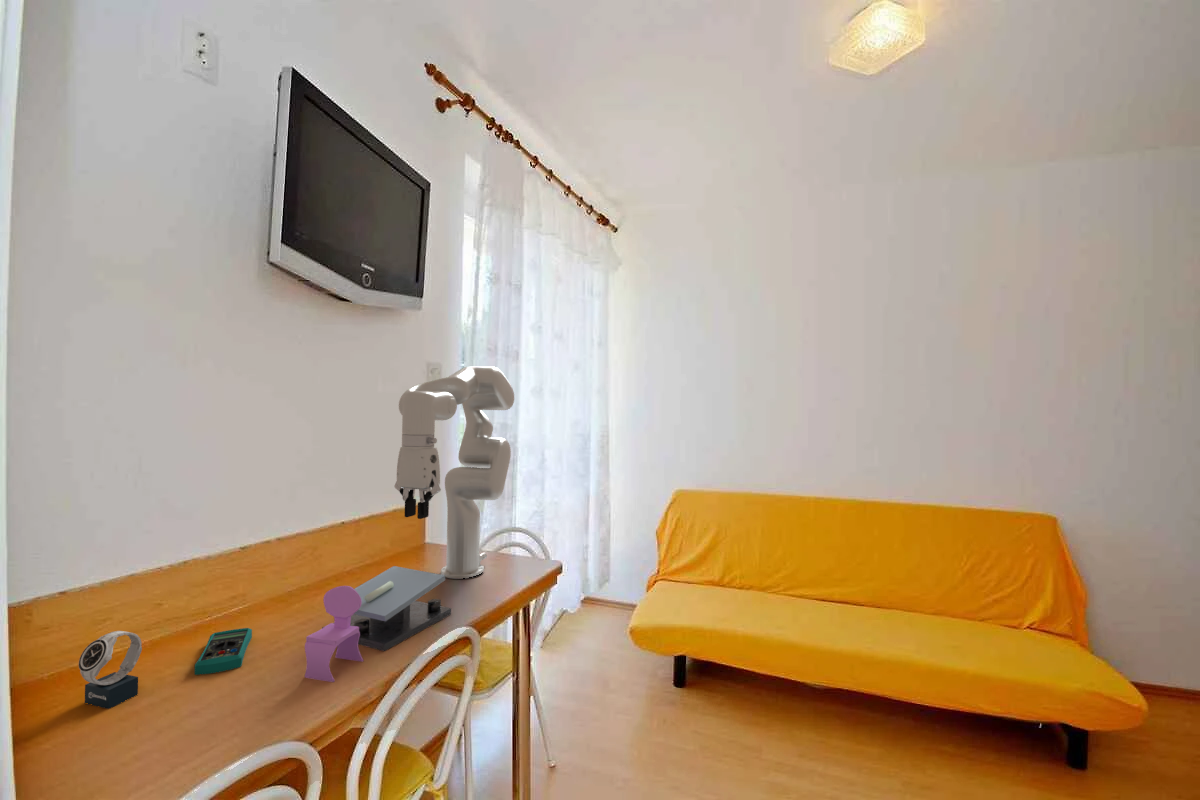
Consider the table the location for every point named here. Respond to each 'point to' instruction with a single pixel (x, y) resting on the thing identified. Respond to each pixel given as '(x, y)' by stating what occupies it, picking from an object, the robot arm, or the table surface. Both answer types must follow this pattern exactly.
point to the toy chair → (334, 634)
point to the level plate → (394, 591)
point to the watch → (115, 684)
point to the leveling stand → (398, 624)
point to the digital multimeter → (224, 651)
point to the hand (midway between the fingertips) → (416, 516)
